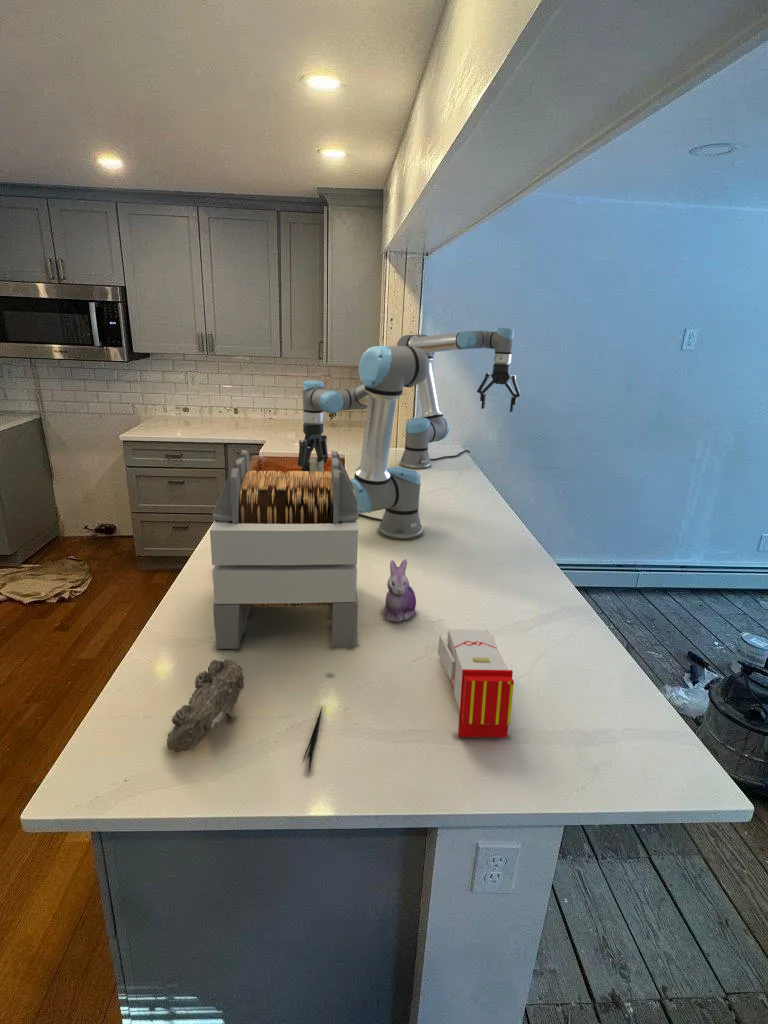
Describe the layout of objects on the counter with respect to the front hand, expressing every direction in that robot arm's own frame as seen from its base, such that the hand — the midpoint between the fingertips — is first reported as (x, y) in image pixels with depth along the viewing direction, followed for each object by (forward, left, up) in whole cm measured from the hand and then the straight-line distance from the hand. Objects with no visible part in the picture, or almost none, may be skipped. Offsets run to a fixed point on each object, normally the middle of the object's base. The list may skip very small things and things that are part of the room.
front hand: (313, 480), depth 220 cm
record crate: (+66, -51, -10) cm, 84 cm away
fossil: (+90, -84, -10) cm, 124 cm away
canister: (0, 0, -2) cm, 2 cm away
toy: (+115, -38, -10) cm, 122 cm away
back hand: (+11, +96, +22) cm, 99 cm away
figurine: (+83, -29, -10) cm, 88 cm away
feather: (+103, -68, -10) cm, 124 cm away
